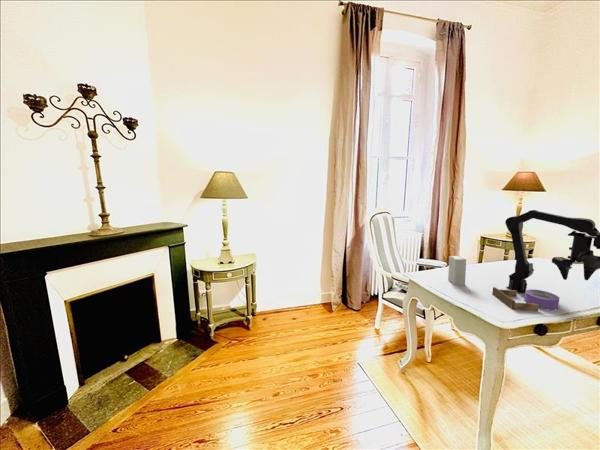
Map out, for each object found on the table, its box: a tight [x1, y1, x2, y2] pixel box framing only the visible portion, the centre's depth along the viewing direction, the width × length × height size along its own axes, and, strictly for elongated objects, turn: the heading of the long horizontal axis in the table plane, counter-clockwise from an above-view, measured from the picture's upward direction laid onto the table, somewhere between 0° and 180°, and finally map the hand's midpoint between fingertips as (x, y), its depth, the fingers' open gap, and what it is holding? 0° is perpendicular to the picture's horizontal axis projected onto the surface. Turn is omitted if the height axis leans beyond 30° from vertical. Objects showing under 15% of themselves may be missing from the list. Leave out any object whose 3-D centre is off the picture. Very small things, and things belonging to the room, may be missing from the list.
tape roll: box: [524, 289, 560, 311], centre depth 122 cm, size 12×12×5 cm
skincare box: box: [447, 255, 467, 286], centre depth 149 cm, size 8×6×15 cm
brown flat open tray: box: [491, 286, 540, 312], centre depth 124 cm, size 10×16×4 cm, turn 170°
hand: (575, 279), depth 120 cm, fingers open, 9 cm apart
